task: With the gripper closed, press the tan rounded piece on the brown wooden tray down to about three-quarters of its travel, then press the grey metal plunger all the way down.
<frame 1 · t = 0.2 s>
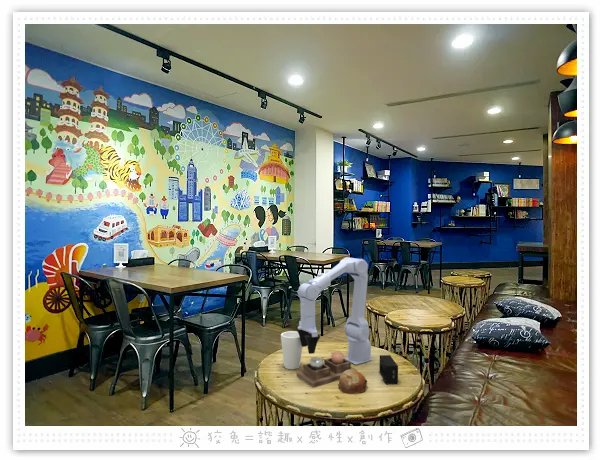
hand: (307, 349, 137), 10 cm above the table, tool pointing down, fingers open, 7 cm apart
foam cup: (291, 366, 144), on the table, touching gripper
digital camera: (386, 378, 134), on the table
grey plunger: (316, 363, 134), point 5 cm above the table, slide at 0.0 cm
tan rounded piece: (337, 358, 139), point 5 cm above the table, slide at 0.0 cm
bread roll: (352, 388, 127), on the table
brown wooden tray: (327, 375, 137), on the table
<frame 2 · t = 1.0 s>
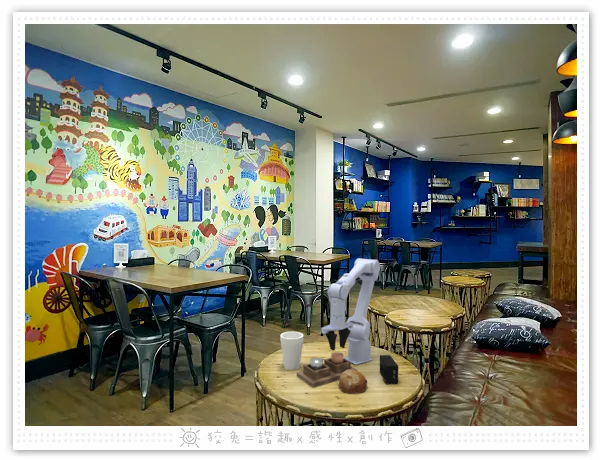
hand: (337, 348, 139), 9 cm above the table, tool pointing down, fingers open, 4 cm apart
foam cup: (291, 367, 144), on the table
everything else where it was.
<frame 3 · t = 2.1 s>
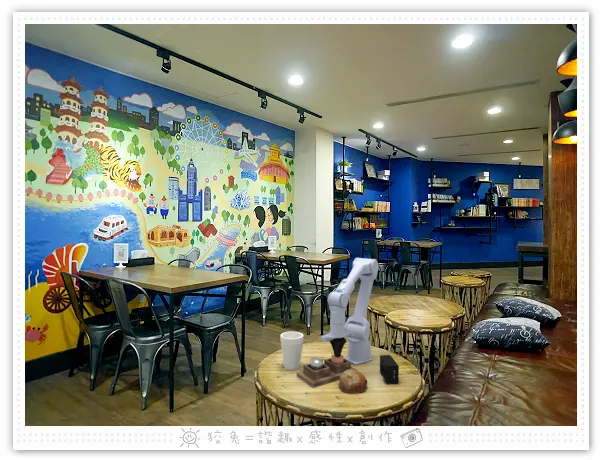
hand: (337, 356, 139), 6 cm above the table, tool pointing down, fingers closed, pressing on tan rounded piece
tan rounded piece: (337, 360, 139), point 5 cm above the table, slide at 0.7 cm, touching gripper
everything else where it was.
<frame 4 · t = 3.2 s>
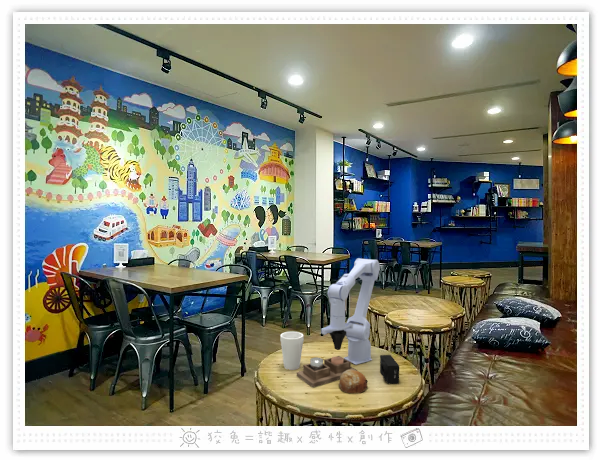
hand: (337, 349, 139), 9 cm above the table, tool pointing down, fingers closed
tan rounded piece: (337, 362, 139), point 4 cm above the table, slide at 1.7 cm
everything else where it was.
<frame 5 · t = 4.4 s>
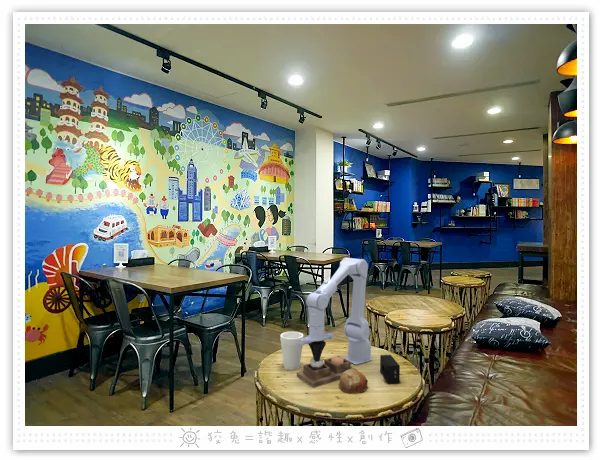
hand: (316, 360, 134), 7 cm above the table, tool pointing down, fingers closed, pressing on grey plunger
grey plunger: (316, 364, 134), point 5 cm above the table, slide at 0.1 cm, touching gripper
everything else where it was.
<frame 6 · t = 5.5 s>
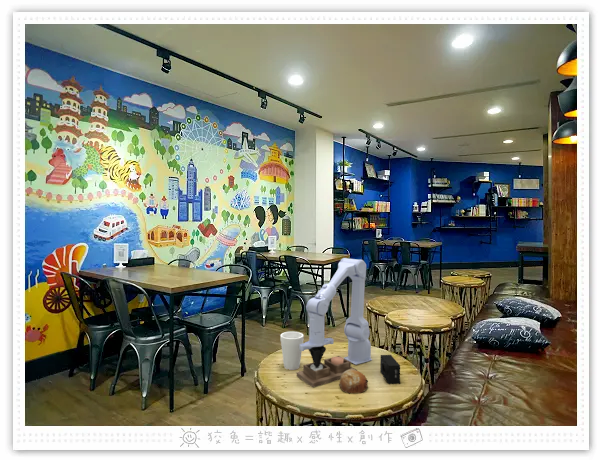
hand: (316, 365, 134), 5 cm above the table, tool pointing down, fingers closed
grey plunger: (316, 370, 134), point 3 cm above the table, slide at 2.5 cm
everything else where it was.
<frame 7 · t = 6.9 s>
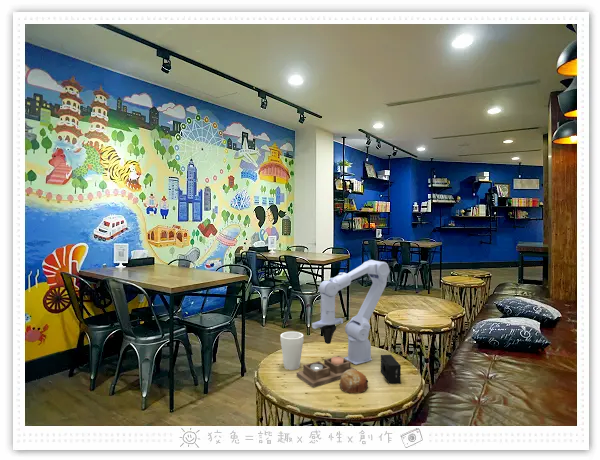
hand: (327, 343, 145), 9 cm above the table, tool pointing down, fingers closed
nothing on the table moved.
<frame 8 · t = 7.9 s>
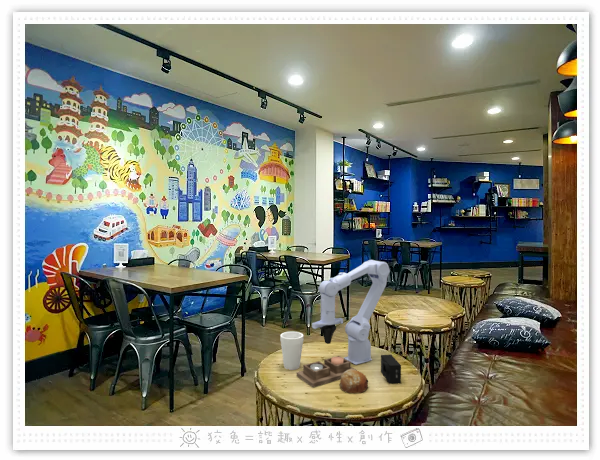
hand: (327, 343, 145), 9 cm above the table, tool pointing down, fingers closed
at the end: tan rounded piece slide at 1.7 cm; grey plunger slide at 2.5 cm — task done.
